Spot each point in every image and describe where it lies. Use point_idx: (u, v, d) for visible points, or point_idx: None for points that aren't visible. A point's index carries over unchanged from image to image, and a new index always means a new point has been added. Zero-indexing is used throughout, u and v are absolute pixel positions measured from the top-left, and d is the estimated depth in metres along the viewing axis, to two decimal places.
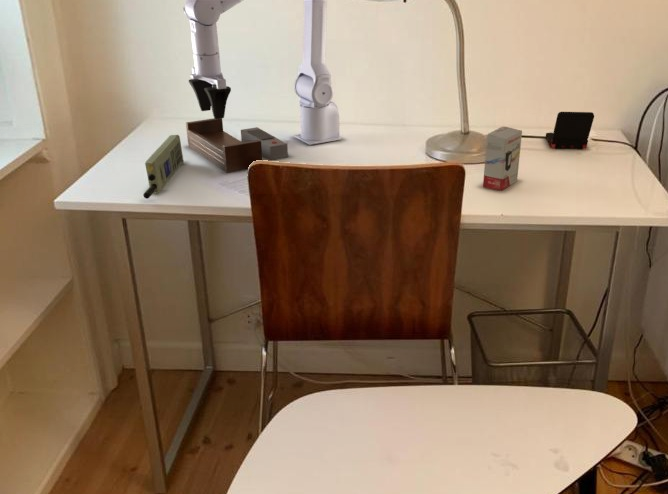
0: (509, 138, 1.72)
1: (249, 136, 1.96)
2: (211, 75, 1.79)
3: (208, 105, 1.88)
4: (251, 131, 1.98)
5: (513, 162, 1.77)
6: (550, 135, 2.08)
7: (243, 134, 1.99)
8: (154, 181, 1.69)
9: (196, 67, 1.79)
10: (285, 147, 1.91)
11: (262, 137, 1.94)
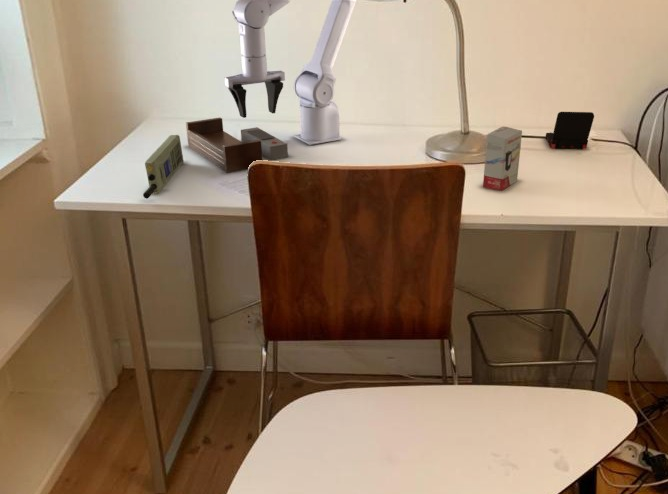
0: (509, 138, 1.72)
1: (249, 136, 1.96)
2: (242, 75, 1.86)
3: (271, 108, 1.93)
4: (251, 131, 1.98)
5: (513, 162, 1.77)
6: (550, 135, 2.08)
7: (243, 134, 1.99)
8: (154, 181, 1.69)
9: None
10: (285, 147, 1.91)
11: (262, 137, 1.94)
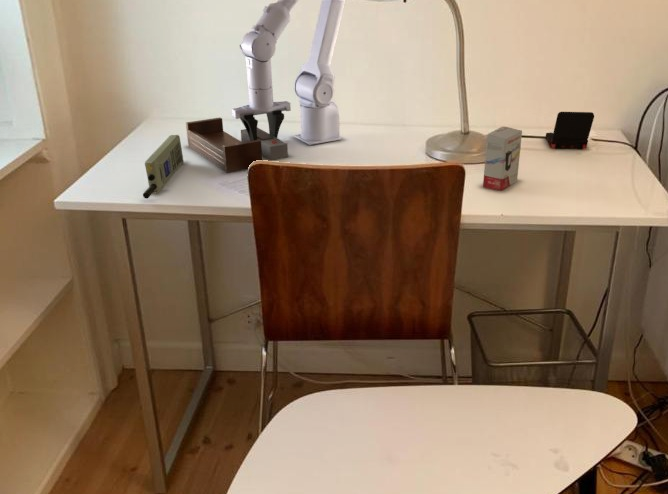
0: (509, 138, 1.72)
1: None
2: (249, 106, 1.90)
3: None
4: None
5: (513, 162, 1.77)
6: (550, 135, 2.08)
7: (243, 134, 1.99)
8: (154, 181, 1.69)
9: None
10: (285, 147, 1.91)
11: (262, 137, 1.94)
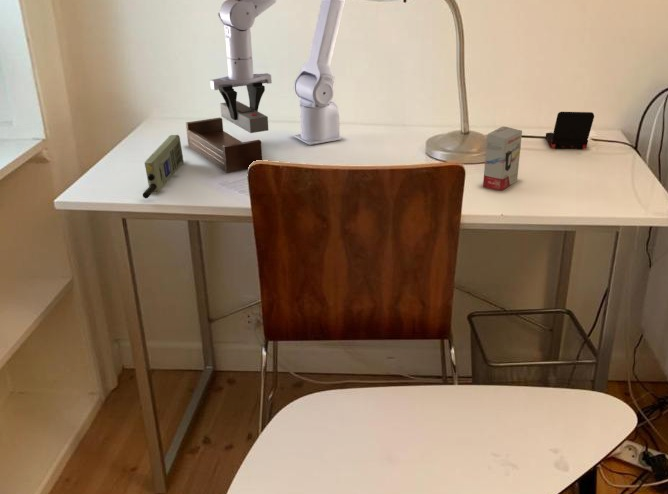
0: (509, 138, 1.72)
1: None
2: (228, 77, 1.84)
3: None
4: None
5: (513, 162, 1.77)
6: (550, 135, 2.08)
7: (223, 107, 1.93)
8: (153, 181, 1.69)
9: None
10: (265, 120, 1.85)
11: (242, 110, 1.88)
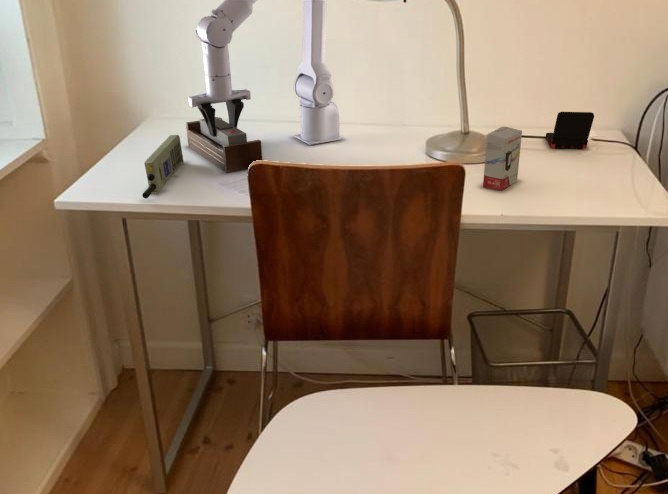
0: (509, 138, 1.72)
1: None
2: (207, 94, 1.83)
3: None
4: None
5: (513, 162, 1.77)
6: (550, 135, 2.08)
7: (202, 123, 1.91)
8: (153, 181, 1.69)
9: None
10: (244, 137, 1.84)
11: (221, 127, 1.86)
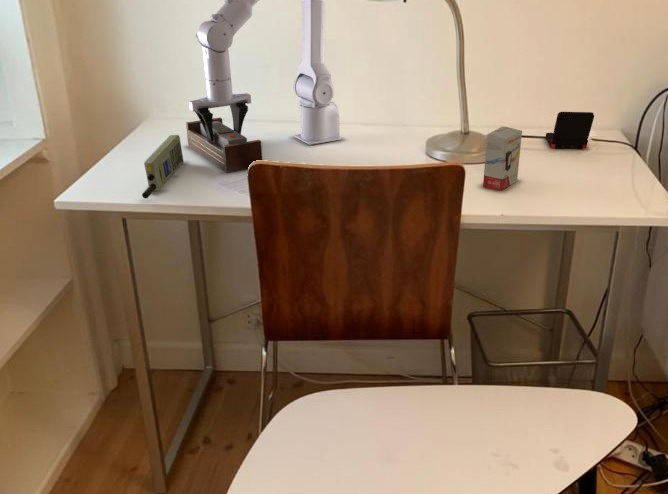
0: (509, 138, 1.72)
1: None
2: (207, 98, 1.83)
3: (237, 131, 1.90)
4: None
5: (513, 162, 1.77)
6: (550, 135, 2.08)
7: (202, 127, 1.92)
8: (153, 181, 1.69)
9: None
10: (244, 141, 1.84)
11: (221, 131, 1.87)
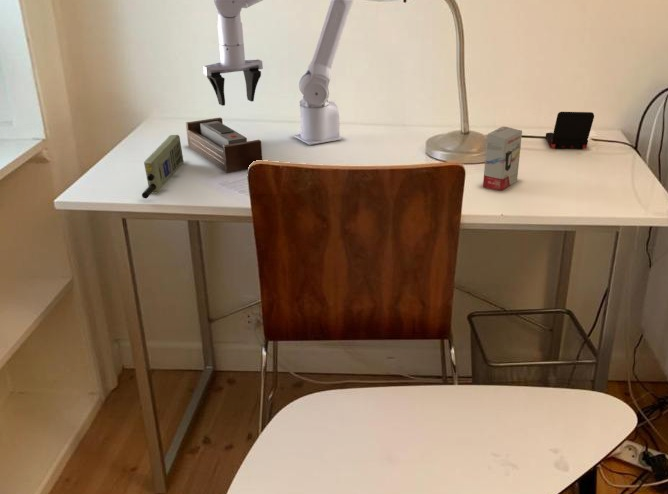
0: (509, 138, 1.72)
1: (208, 130, 1.90)
2: (221, 63, 1.90)
3: (250, 96, 1.97)
4: (210, 125, 1.91)
5: (513, 162, 1.77)
6: (550, 135, 2.08)
7: (202, 127, 1.92)
8: (153, 181, 1.69)
9: None
10: (244, 141, 1.84)
11: (221, 131, 1.87)
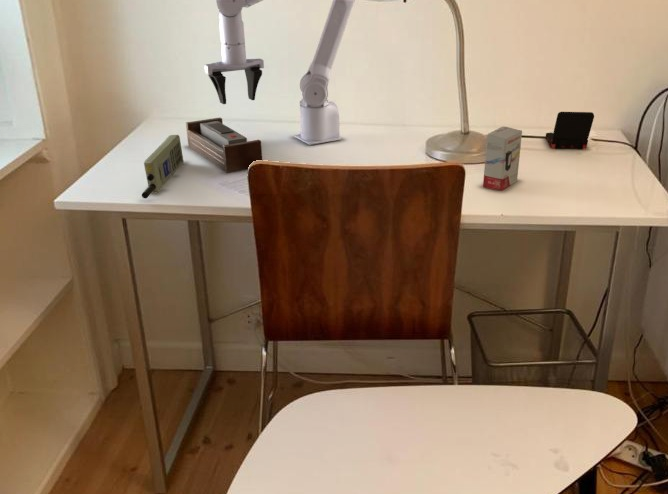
0: (509, 138, 1.72)
1: (208, 130, 1.90)
2: (222, 62, 1.91)
3: (251, 95, 1.98)
4: (210, 125, 1.91)
5: (513, 162, 1.77)
6: (550, 135, 2.08)
7: (202, 127, 1.92)
8: (153, 181, 1.69)
9: None
10: (244, 141, 1.84)
11: (221, 131, 1.87)
